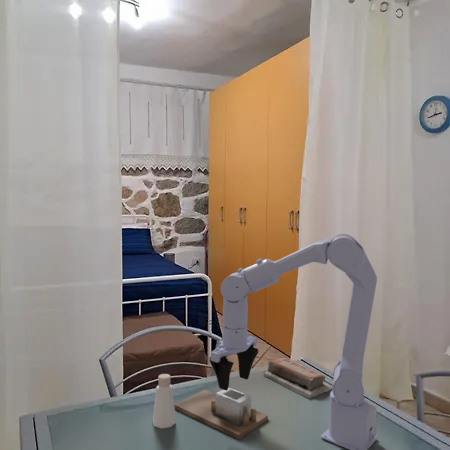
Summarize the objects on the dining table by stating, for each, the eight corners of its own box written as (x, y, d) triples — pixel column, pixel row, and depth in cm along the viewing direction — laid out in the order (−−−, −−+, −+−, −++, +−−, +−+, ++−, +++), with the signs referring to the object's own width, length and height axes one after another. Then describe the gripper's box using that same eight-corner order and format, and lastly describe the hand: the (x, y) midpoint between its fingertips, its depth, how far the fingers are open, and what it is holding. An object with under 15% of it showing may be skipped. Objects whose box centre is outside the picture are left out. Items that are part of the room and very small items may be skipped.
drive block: (250, 416, 101) (251, 395, 101) (239, 424, 98) (239, 402, 98) (227, 407, 106) (228, 386, 105) (215, 413, 102) (216, 393, 102)
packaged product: (262, 360, 127) (286, 353, 133) (262, 376, 127) (286, 369, 133) (309, 382, 113) (334, 373, 119) (309, 400, 113) (333, 390, 119)
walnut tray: (267, 419, 102) (268, 405, 102) (238, 439, 94) (239, 423, 94) (204, 393, 115) (204, 380, 115) (174, 408, 107) (174, 394, 106)
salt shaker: (180, 423, 100) (181, 376, 99) (160, 431, 96) (160, 383, 96) (167, 414, 104) (167, 369, 103) (147, 421, 100) (147, 374, 100)
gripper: (240, 315, 108) (239, 369, 109) (200, 329, 97) (199, 388, 98) (264, 321, 104) (262, 377, 105) (225, 336, 93) (224, 398, 94)
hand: (234, 383), depth 101 cm, fingers open, 7 cm apart
